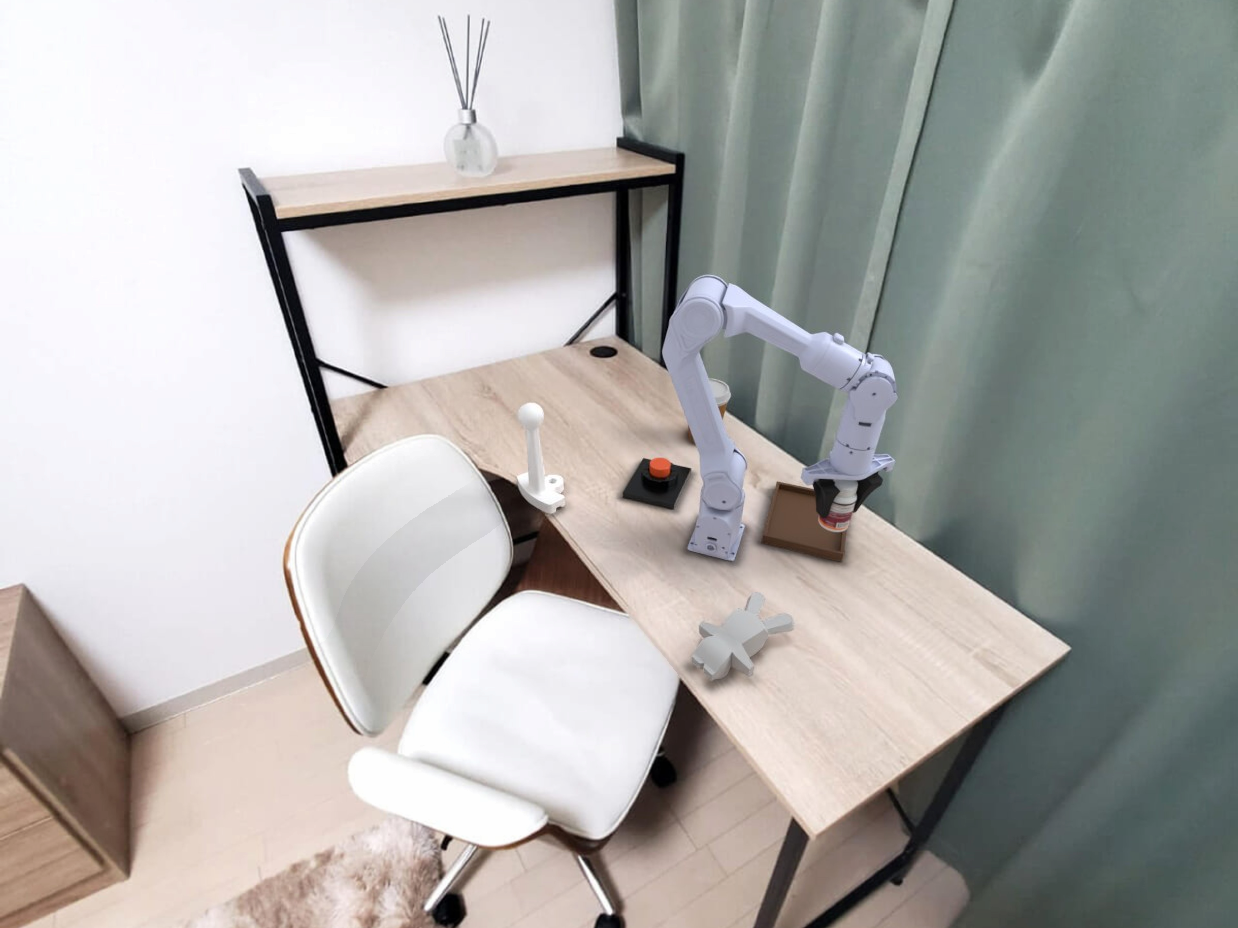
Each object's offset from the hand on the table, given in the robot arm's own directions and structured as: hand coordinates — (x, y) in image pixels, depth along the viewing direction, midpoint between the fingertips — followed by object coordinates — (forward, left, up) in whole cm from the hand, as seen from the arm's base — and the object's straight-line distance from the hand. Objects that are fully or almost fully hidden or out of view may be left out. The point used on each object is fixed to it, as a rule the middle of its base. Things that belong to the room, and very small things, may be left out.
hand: (836, 511), depth 95 cm
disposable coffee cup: (+28, +28, -10) cm, 41 cm away
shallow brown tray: (+7, +4, -9) cm, 12 cm away
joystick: (-2, +51, -10) cm, 52 cm away
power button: (+9, +32, -7) cm, 34 cm away
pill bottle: (0, 0, -3) cm, 3 cm away
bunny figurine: (-24, +10, -10) cm, 27 cm away
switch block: (+8, +32, -9) cm, 34 cm away
